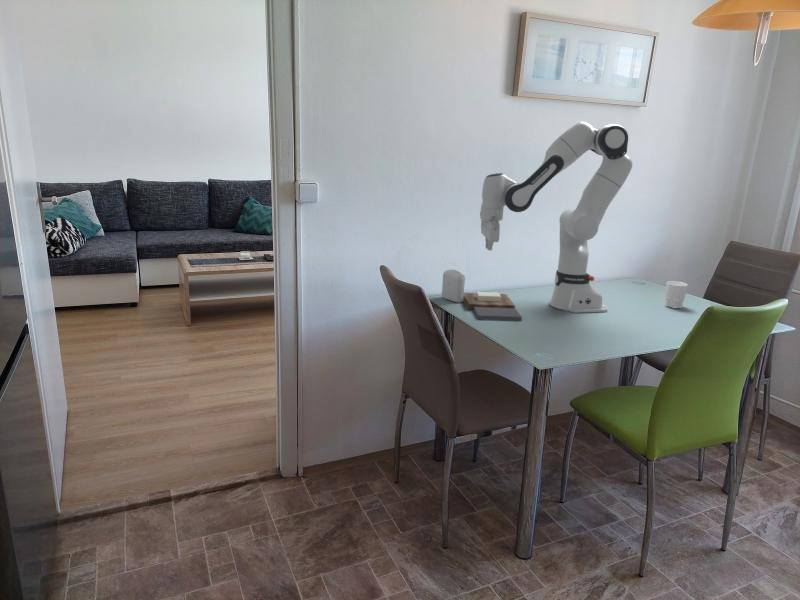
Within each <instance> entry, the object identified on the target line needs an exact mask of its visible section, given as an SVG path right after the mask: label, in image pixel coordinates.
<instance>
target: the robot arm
mask: <svg viewBox="0 0 800 600" xmlns="http://www.w3.org/2000/svg"><path fill="white" fill-rule="evenodd" d="M628 145H629V134H628V131H627V129H626V128H625V127H623V126H622V125H621V124H618V123H617V124H615V123H611V124H608V125H604V126H602V127H600V128H597V129H596V128H594V127H593V126H592V125H591V124H589V123H587V122H586V121H580V122H578V123H576V124H574V125H573V126H571V127H570V128H568V129H567V130H565V131H564V132H563V133H561V134H560V136H558V137H557V138H556V139H555V140H554V141H553V142H552V143H551V145H549V147H548V148H547V149H546V151H545V154H544V155H545V156H544V159H543V160H542V161H543V162H542V164H541V165H540V166H539V167H538V168H537V169H536V170H535V171H534V172H533V173H532V174H531V175H530V176H529V177H527V179H526V180H525V181H523V182H520V183H519V182H517V181H515V180H513V179H511V178H509V177H508V176H507V175H506V174H505V173H503V172H502V173H501V172H498V173H497V172H496V173H492V174H488V175H487V176H486V177H485V178H484V180H483V184H482V191H481V192H482V193H481V198H482V202H481V205H480V212H479V213H480V214H479V217H480V218H479V219H480V232H481V234H482V236H484V237H485V238H484V239H485V249H487V251H493V246H494V243H499V241H500V232H501V231H500V230H501V229H500V228H501V226H500V225H501V224H500V221H503V220H504V219H503V218H504V208H505V206H506V207H507V209H509V210H510V211H512V212H513V213H514V212H515V213H522V212H524V211H526V210H528V209H529V207H531V205H532V203H533V200H534V199H535V196H536V195H537V194H538V193H539V191H541V190H542V189H543V188H544V187H545V186H546V185H547V184H548V183H549V182H550V181H551V180H552V179H553V178H555V177H556V176H557V175H559V174H561V172H563V171H564V170H566V169H567V168H568V167H570V166H572V165H573V164H574V163H575V162H576V161H577V160H578V159H579V158H580V157H582V156H583V155H584V154H585V153H586V152H587V151H592V152H593V153H595V154H597V155H598V156H602V161H601V164H600V166H599V167H598V169H597V170H596V172H595V173H594V174H593V176H592V177H591V179H590V180H589V181H588V184H587V185H586V186H585V188H584V190H583V191H582V195H581V197H580V200H579V202H578V203H577V206H576V207H571V208H567V209H565V210H564V211H562V213H561V214H560V216H559V257H558V265H557V269H556V272H555V276H554V289H553V292H552V293H553V294H552V295H551V299H550V301H549V305H550V306H551V307H553V308H555V309H559V310H562V311H563V310H564V311H567V312H571V313H573V314H574V313H602V312H608V307H607V305H606V304H605V303H603V296H602V294H601V292H600V291H599V290H598V289H597V288H596V287H595V286H594V285H593V284H592V283H591V282H594V281H595V277H594V276H593V275H590V274H589V273H588V272H587V271H588V262H589V248H588V247H589V246H588V241H590V240H591V239H594V237H595V236H596V235H598V231H599V226H600V223H602V219H603V218H604V216H605V215H606V214H605V213H606V212H607V209H608V208H609V206H610V204H611V203H612V202H613V200H614V198H615V197H616V196H617V194H618V192H619V191H620V190H621V188H622V187H623V185H624V184H625V182H626V180H627V179H628V177H629V174H631V171H632V168H633V161H632V159H631V158H630V157H629V156H628V155H627V153H628Z"/></svg>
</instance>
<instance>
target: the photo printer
mask: <svg viewBox="0 0 800 600" xmlns="http://www.w3.org/2000/svg"><path fill="white" fill-rule="evenodd" d="M465 281H466V279H465V275H464V274H463V273H461V272H460V271H458V270H456V269H446V270H445V271H444V272H443V273H442V285H441V286H442V287H441V297H442V299H446V300H449V301H452V302H455V303H459V304H460V303H463V302H464V300H463V298H464V293H465V284H466V283H465Z"/></svg>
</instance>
